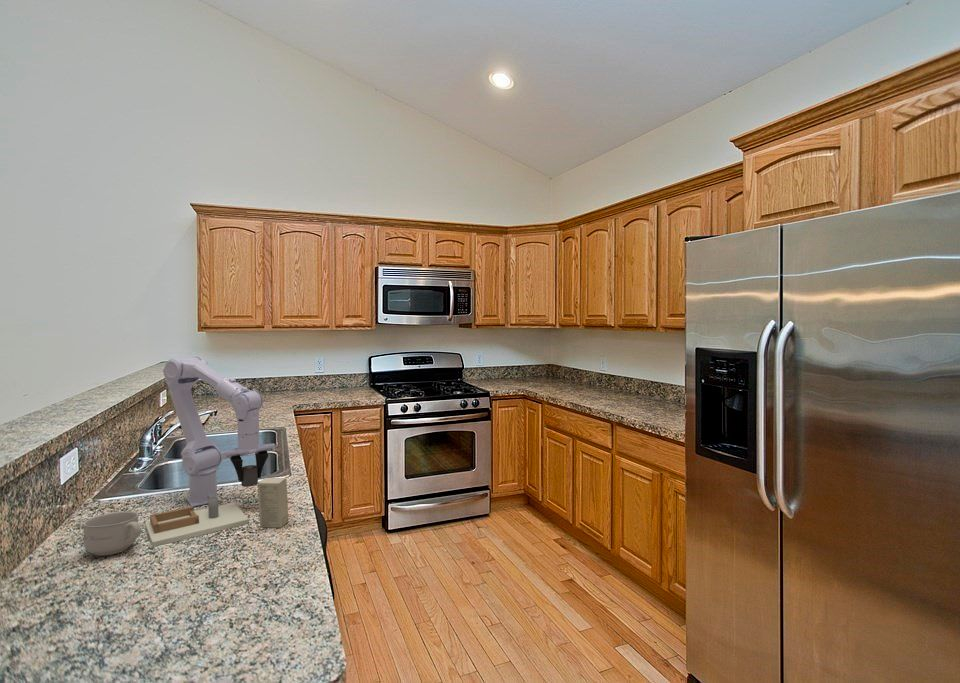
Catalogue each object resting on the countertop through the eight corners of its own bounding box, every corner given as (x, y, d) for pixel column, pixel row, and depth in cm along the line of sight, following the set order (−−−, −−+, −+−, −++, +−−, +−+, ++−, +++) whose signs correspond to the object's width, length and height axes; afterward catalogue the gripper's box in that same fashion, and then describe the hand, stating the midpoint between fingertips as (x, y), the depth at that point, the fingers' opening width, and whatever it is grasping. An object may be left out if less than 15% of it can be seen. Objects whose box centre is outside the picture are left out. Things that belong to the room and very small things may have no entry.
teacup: (74, 554, 119) (73, 521, 119) (124, 536, 129) (123, 506, 128) (106, 568, 113) (105, 532, 112) (156, 548, 122) (155, 515, 122)
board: (145, 526, 135) (144, 503, 135) (234, 506, 149) (233, 485, 149) (152, 547, 123) (151, 522, 122) (248, 523, 137) (248, 501, 136)
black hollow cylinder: (239, 483, 148) (239, 466, 148) (255, 480, 151) (255, 463, 151) (243, 487, 145) (243, 470, 144) (259, 484, 147) (259, 467, 147)
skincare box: (288, 521, 138) (287, 477, 137) (280, 528, 133) (279, 483, 133) (266, 520, 138) (265, 477, 138) (258, 527, 134) (257, 482, 133)
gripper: (224, 439, 139) (225, 487, 140) (278, 431, 148) (279, 477, 149) (218, 434, 145) (219, 481, 146) (271, 427, 154) (272, 471, 155)
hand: (249, 478), depth 148 cm, fingers closed on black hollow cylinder, 4 cm apart
